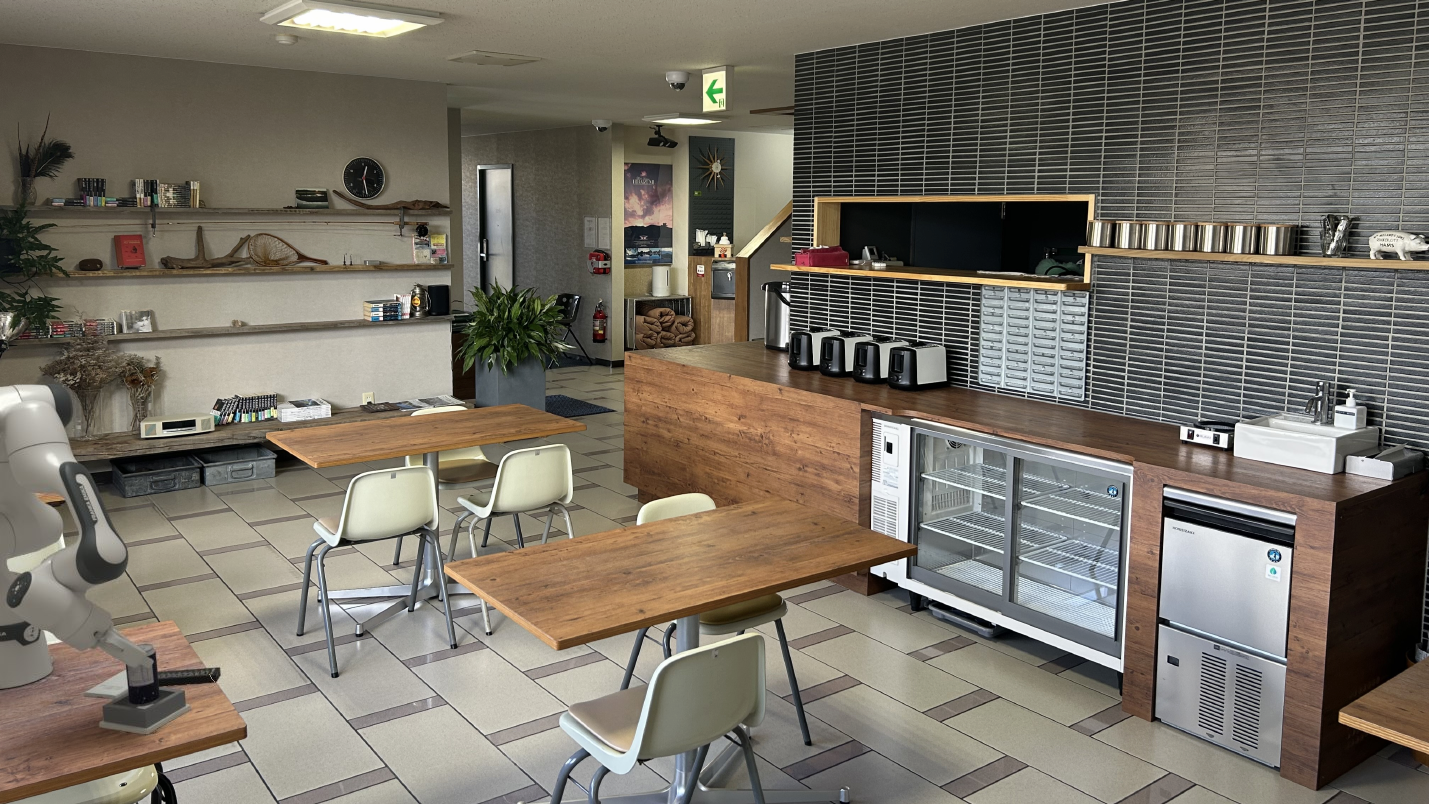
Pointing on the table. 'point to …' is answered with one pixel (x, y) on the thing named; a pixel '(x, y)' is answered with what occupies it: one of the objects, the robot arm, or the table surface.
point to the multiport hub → (188, 676)
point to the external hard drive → (110, 687)
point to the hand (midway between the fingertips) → (144, 659)
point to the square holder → (144, 712)
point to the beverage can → (143, 680)
